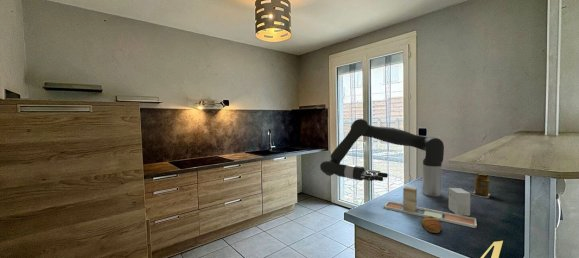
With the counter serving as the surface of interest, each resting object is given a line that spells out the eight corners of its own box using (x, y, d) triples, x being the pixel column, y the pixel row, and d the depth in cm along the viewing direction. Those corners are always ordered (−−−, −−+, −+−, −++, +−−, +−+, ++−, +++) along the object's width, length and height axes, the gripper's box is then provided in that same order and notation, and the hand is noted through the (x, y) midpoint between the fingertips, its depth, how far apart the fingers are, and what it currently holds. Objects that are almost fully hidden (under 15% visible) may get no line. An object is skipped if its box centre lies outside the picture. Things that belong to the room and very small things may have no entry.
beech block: (405, 207, 114) (405, 185, 114) (416, 209, 111) (416, 187, 111) (403, 210, 110) (403, 188, 110) (414, 213, 107) (415, 190, 107)
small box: (470, 216, 104) (470, 193, 103) (456, 215, 105) (457, 192, 104) (460, 209, 112) (461, 188, 111) (448, 208, 113) (448, 187, 112)
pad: (425, 210, 110) (425, 210, 110) (442, 214, 106) (442, 214, 106) (423, 215, 105) (423, 215, 105) (441, 219, 100) (441, 219, 100)
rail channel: (388, 202, 121) (388, 200, 121) (475, 220, 99) (475, 218, 99) (383, 208, 114) (383, 206, 114) (476, 228, 92) (476, 226, 92)
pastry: (444, 236, 87) (444, 226, 87) (424, 233, 90) (424, 223, 90) (438, 225, 96) (438, 216, 96) (420, 222, 98) (420, 214, 98)
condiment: (490, 194, 132) (490, 174, 132) (488, 198, 126) (489, 176, 126) (474, 191, 137) (474, 172, 137) (471, 195, 131) (472, 174, 131)
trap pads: (388, 203, 120) (388, 203, 120) (474, 220, 99) (474, 220, 99) (385, 207, 114) (385, 207, 114) (474, 227, 93) (474, 226, 93)
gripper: (349, 168, 121) (381, 172, 111) (359, 163, 132) (389, 167, 122) (349, 182, 121) (381, 187, 111) (359, 176, 133) (388, 181, 123)
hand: (385, 177), depth 117 cm, fingers open, 8 cm apart
